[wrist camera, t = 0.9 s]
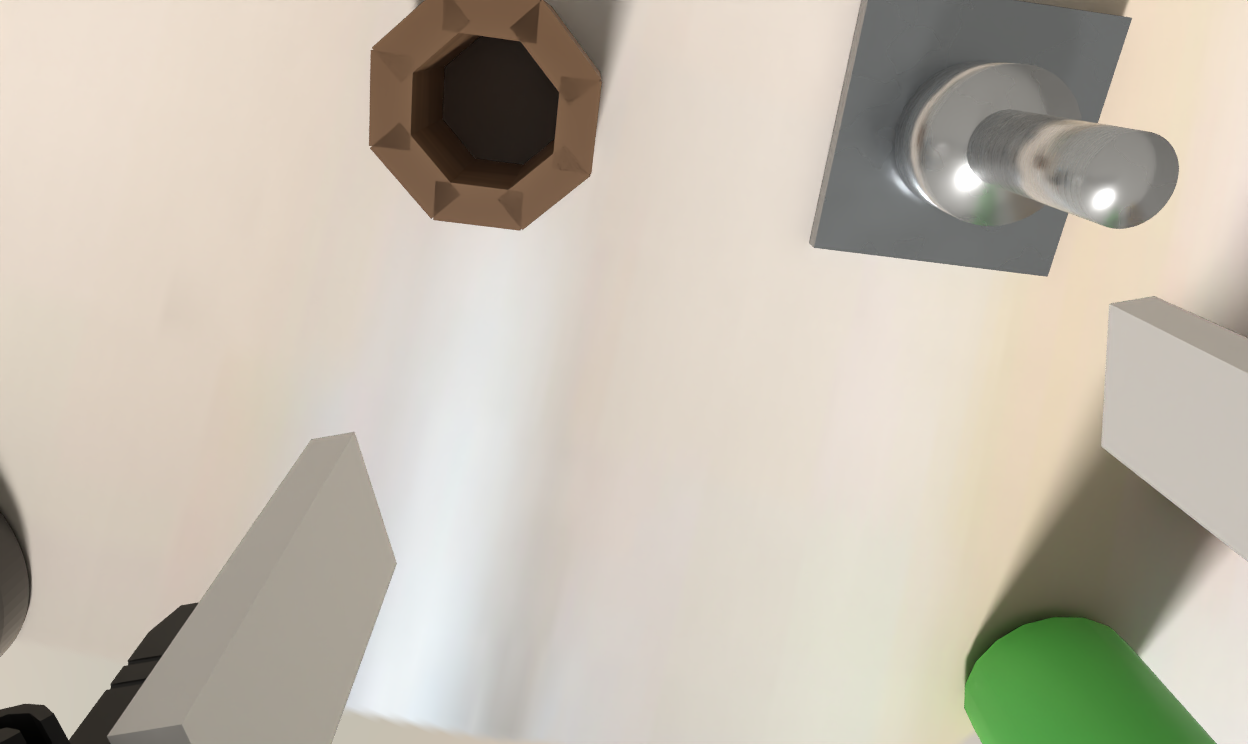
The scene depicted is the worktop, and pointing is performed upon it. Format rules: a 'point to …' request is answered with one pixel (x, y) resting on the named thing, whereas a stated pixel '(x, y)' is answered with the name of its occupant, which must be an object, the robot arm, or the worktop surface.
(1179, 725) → the bottle
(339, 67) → the worktop surface
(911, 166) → the stand
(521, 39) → the ring
